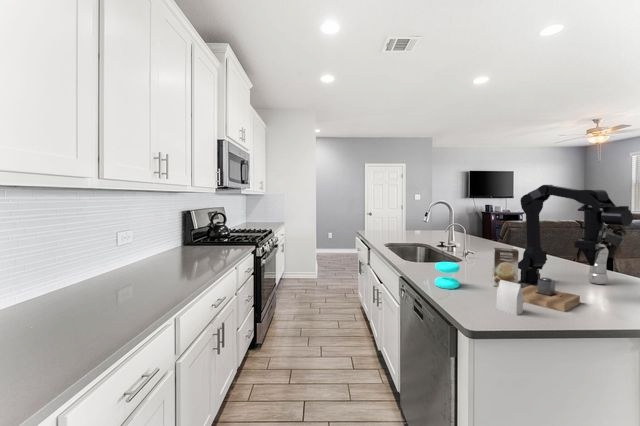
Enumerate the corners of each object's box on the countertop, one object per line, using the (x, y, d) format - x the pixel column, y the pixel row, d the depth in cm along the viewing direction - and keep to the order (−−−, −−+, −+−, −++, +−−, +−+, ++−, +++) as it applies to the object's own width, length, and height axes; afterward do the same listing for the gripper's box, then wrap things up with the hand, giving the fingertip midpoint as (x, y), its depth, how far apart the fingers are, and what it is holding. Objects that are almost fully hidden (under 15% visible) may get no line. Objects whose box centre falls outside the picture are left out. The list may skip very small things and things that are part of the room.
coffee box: (493, 286, 137) (493, 249, 136) (492, 282, 143) (492, 247, 142) (517, 289, 133) (518, 251, 132) (515, 285, 139) (516, 248, 138)
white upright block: (516, 315, 104) (517, 285, 103) (496, 309, 110) (497, 280, 109) (522, 313, 106) (523, 283, 105) (502, 307, 112) (503, 279, 111)
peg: (549, 304, 114) (550, 280, 114) (537, 301, 117) (537, 278, 117) (554, 301, 117) (555, 278, 116) (542, 298, 120) (542, 276, 119)
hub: (513, 299, 120) (513, 290, 120) (530, 292, 127) (530, 284, 127) (564, 311, 106) (564, 302, 106) (579, 303, 114) (579, 294, 114)
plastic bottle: (611, 286, 136) (613, 239, 135) (593, 285, 137) (595, 239, 136) (601, 282, 142) (603, 237, 141) (584, 281, 143) (585, 237, 142)
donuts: (441, 260, 144) (463, 263, 137) (441, 282, 145) (463, 286, 137) (430, 263, 138) (452, 267, 130) (430, 286, 138) (452, 291, 131)
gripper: (615, 227, 105) (613, 273, 105) (630, 223, 115) (629, 266, 116) (573, 224, 114) (572, 267, 115) (591, 222, 124) (590, 261, 125)
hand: (592, 265), depth 117 cm, fingers closed
